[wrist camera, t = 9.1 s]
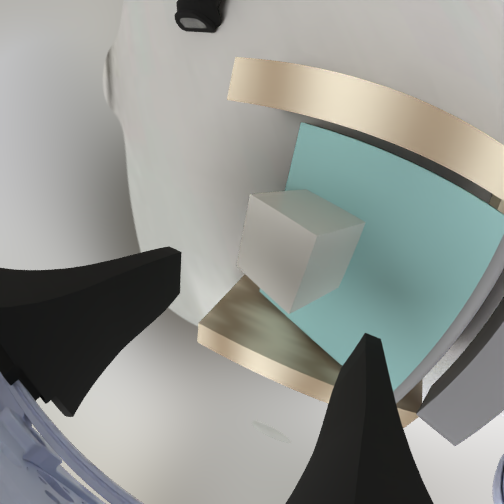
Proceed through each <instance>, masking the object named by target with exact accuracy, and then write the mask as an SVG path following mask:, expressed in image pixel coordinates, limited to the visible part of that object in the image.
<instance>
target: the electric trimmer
mask: <svg viewBox="0 0 504 504" xmlns="http://www.w3.org/2000/svg"><path fill="white" fill-rule="evenodd" d="M220 1H221V0H178V1H177V13H176V14H175V20H176V23H177V24H178V26H179V27H180V28H181V29H182V30H185V31H194V32H211V33H213V32H214V30H215V27H216V26H220V23H221V18H220V15H219V12H218V6H219V3H220Z"/></svg>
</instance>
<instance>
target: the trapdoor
mask: <svg viewBox="0 0 504 504" xmlns="http://www.w3.org/2000/svg"><path fill="white" fill-rule="evenodd" d="M304 189H306V190H308V191H310V192H312V193H314V194H316V195H318V196H320V197H321V198H323V199H325V200H327V201H329V202H331V203H333V204H334V205H336V206H338V207H340V208H342V209H343V210H345V211H347V212H349V213H350V214H352V215H354V216H356V217H357V218H359V219H361V220H363V221H364V222H366V223H365V226H364V228H363V231H362V233H361V236H360V238H359V241H358V243H357V246H356V248H355V251H354V253H353V256H352V258H351V260H350V263H349V265H348V267H347V269H346V272H345V274H344V276H343V279H342V281H341V283H340V285H339V287H338V288H337V289H335V290H333V291H331V292H329V293H328V294H326V295H324V296H322V297H320V298H319V299H317V300H315V301H313V302H311V303H309V304H307V305H306V306H304V307H302V308H300V309H298V310H296V311H294V312H292V313H290V314H288V313H287V312H286V311H285V310H284V309H283V308H281V307H280V306H279V305H278V304H277V303H276V302H275V301H274V300H273V299H272V298H270V297H269V296H268V295H267V294H266V293H265V292H264V291H263V290H262V289H261V288H260V292H261V293H262V294H263V295H264V296H265V297H266V298H267V299H268V300H269V301H270V302H272V303H273V304H274V305H275V306H276V307H277V308H278V309H279V310H280V311H281V312H282V313H284V314H285V315H286V316H287V317H288V318H289V319H290V320H291V321H292V322H293V323H295V324H296V325H297V326H298V327H299V328H300V329H301V330H302V331H303V332H305V333H306V334H307V335H308V336H309V337H310V338H311V339H312V340H313V341H315V342H316V343H317V344H318V345H319V346H320V347H321V348H322V349H324V350H325V351H326V352H327V353H328V354H329V355H330V356H332V357H333V358H334V359H335V360H336V361H337V362H338V363H339V364H341V365H342V366H343V364H344V363H345V362H346V360H347V359H348V357H349V356H350V355H351V353H352V352H353V350H354V349H355V347H356V346H357V344H358V343H359V341H360V340H361V338H362V337H363V335H364V334H365V333H367V334H370V335H372V336H375V337H377V338H380V339H381V341H382V345H383V350H384V354H385V358H386V363H387V367H388V372H389V376H390V380H391V385H392V389H393V393H394V397H395V401H396V404H397V403H398V402H399V401H400V400H401V399H402V398H403V397H404V396H405V395H406V394H407V393H408V392H409V391H410V390H412V389H413V388H414V387H415V386H416V385H417V384H418V383H419V382H420V381H421V380H422V379H423V377H424V376H425V375H426V374H427V373H428V372H429V371H430V370H431V369H432V368H433V367H434V366H435V365H436V364H437V362H438V361H439V360H440V359H441V358H442V357H443V356H444V354H445V353H446V352H447V351H448V350H449V348H450V347H451V346H452V345H453V344H454V342H455V341H456V340H457V339H458V337H459V336H460V335H461V333H462V332H463V331H464V329H465V328H466V327H467V325H468V324H469V323H470V321H471V320H472V319H473V317H474V316H475V314H476V313H477V311H478V310H479V308H480V307H481V305H482V304H483V302H484V301H485V299H486V298H487V296H488V295H489V293H490V291H491V290H492V288H493V287H494V285H495V283H496V281H497V280H498V278H499V276H500V274H501V273H502V271H503V269H504V214H503V213H501V212H500V211H498V210H497V209H495V208H494V207H492V206H491V205H489V204H488V203H486V202H485V201H483V200H481V199H480V198H478V197H477V196H475V195H473V194H472V193H470V192H468V191H467V190H465V189H463V188H461V187H460V186H458V185H456V184H454V183H452V182H451V181H449V180H447V179H445V178H443V177H441V176H439V175H437V174H436V173H434V172H432V171H430V170H428V169H426V168H423V167H421V166H419V165H417V164H415V163H413V162H411V161H409V160H406V159H404V158H402V157H400V156H397V155H395V154H393V153H390V152H388V151H385V150H383V149H381V148H378V147H376V146H373V145H370V144H368V143H365V142H363V141H360V140H357V139H354V138H352V137H349V136H346V135H343V134H340V133H337V132H334V131H331V130H328V129H324V128H321V127H318V126H315V125H311V124H307V123H302V122H301V124H300V129H299V133H298V137H297V142H296V146H295V150H294V154H293V159H292V163H291V167H290V171H289V175H288V180H287V184H286V188H285V191H290V190H304ZM503 410H504V297H503V299H502V301H501V302H500V304H499V305H498V307H497V308H496V310H495V311H494V313H493V314H492V316H491V317H490V318H489V320H488V321H487V323H486V324H485V325H484V327H483V328H482V329H481V331H480V332H479V333H478V335H477V336H476V337H475V338H474V340H473V341H472V342H471V343H470V345H469V346H468V347H467V348H466V349H465V351H464V352H463V353H462V354H461V355H460V356H459V358H458V359H457V360H456V361H455V362H454V363H453V364H452V365H451V366H450V368H449V369H448V370H447V371H446V372H445V373H444V374H443V375H442V376H441V377H440V378H439V379H438V380H437V381H436V382H435V383H434V384H433V385H432V386H431V388H430V390H429V392H428V394H427V396H426V397H425V399H424V401H423V403H422V405H421V406H420V408H419V410H418V411H417V413H416V415H417V416H419V417H420V418H421V419H422V420H423V421H425V422H426V423H427V424H428V425H430V426H431V427H432V428H433V429H434V430H436V431H437V432H438V433H439V434H441V435H442V436H443V437H444V438H446V439H447V440H448V441H449V442H451V443H452V444H453V445H454V446H456V445H458V444H459V443H461V442H462V441H464V440H465V439H467V438H468V437H469V436H471V435H472V434H474V433H475V432H476V431H478V430H479V429H481V428H482V427H483V426H485V425H486V424H487V423H489V422H490V421H491V420H492V419H493V418H495V417H496V416H497V415H498V414H500V413H501V412H502V411H503Z"/></svg>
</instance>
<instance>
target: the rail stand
mask: <svg viewBox="0 0 504 504" xmlns="http://www.w3.org/2000/svg"><path fill="white" fill-rule="evenodd" d="M227 100H231V101H238V102H244V103H250V104H256V105H261V106H266V107H272V108H276V109H281V110H286V111H290V112H294V113H299V114H303V115H307V116H311V117H314V118H318V119H322V120H325V121H329V122H332V123H336V124H339V125H342V126H345V127H348V128H352V129H355V130H358V131H361V132H364V133H366V134H369V135H372V136H375V137H377V138H380V139H383V140H385V141H388V142H391V143H393V144H396V145H398V146H401V147H403V148H405V149H408V150H410V151H412V152H415V153H417V154H419V155H421V156H424V157H426V158H428V159H430V160H432V161H434V162H436V163H438V164H440V165H442V166H444V167H446V168H448V169H450V170H452V171H454V172H456V173H458V174H460V175H462V176H463V177H465V178H467V179H469V180H470V181H472V182H474V183H476V184H477V185H479V186H481V187H482V188H484V189H486V190H487V191H489V192H491V193H492V197H491V200H490V203H489V205H491V206H492V207H494V208H495V209H497V210H498V211H500V212H501V213H503V214H504V145H502V144H501V143H499V142H498V141H496V140H495V139H493V138H492V137H490V136H489V135H487V134H485V133H484V132H482V131H480V130H479V129H477V128H475V127H474V126H472V125H470V124H468V123H466V122H465V121H463V120H461V119H459V118H457V117H455V116H453V115H451V114H449V113H447V112H445V111H443V110H441V109H439V108H437V107H435V106H433V105H431V104H428V103H426V102H424V101H421V100H419V99H417V98H414V97H412V96H409V95H407V94H404V93H402V92H399V91H396V90H394V89H391V88H388V87H385V86H382V85H379V84H376V83H373V82H370V81H367V80H363V79H360V78H356V77H353V76H349V75H345V74H341V73H337V72H333V71H329V70H325V69H320V68H315V67H310V66H305V65H299V64H293V63H287V62H280V61H272V60H263V59H253V58H240V57H235V62H234V66H233V71H232V76H231V81H230V87H229V92H228V97H227ZM197 342H198V343H200V344H202V345H204V346H206V347H207V348H209V349H211V350H213V351H214V352H216V353H219V354H220V355H222V356H224V357H226V358H228V359H230V360H232V361H234V362H236V363H237V364H239V365H242V366H244V367H245V368H248V369H250V370H252V371H254V372H256V373H258V374H260V375H262V376H264V377H266V378H269V379H271V380H273V381H275V382H277V383H280V384H282V385H284V386H287V387H289V388H291V389H293V390H296V391H299V392H301V393H303V394H306V395H308V396H311V397H313V398H315V399H318V400H320V401H323V402H326V403H328V404H329V400H330V397H331V393H332V390H333V388H334V385H335V382H336V380H337V377H338V374H339V372H340V369H341V367H342V365H341V364H339V363H338V362H337V361H336V360H335V359H334V358H333V357H332V356H330V355H329V354H328V353H327V352H326V351H325V350H324V349H322V348H321V347H320V346H319V345H318V344H317V343H316V342H315V341H313V340H312V339H311V338H310V337H309V336H308V335H307V334H306V333H305V332H303V331H302V330H301V329H300V328H299V327H298V326H297V325H296V324H295V323H293V322H292V321H291V320H290V319H289V318H288V317H287V316H286V315H285V314H284V313H282V312H281V311H280V310H279V309H278V308H277V307H276V306H275V305H274V304H273V303H272V302H270V301H269V300H268V299H267V298H266V297H265V296H264V295H263V294H262V293H261V292H260V287H258V286H257V285H256V284H255V283H254V282H253V281H252V280H251V279H250V278H249V277H248V276H247V275H246V274H245V275H244V276H243V277H242V278H241V279H240V280H239V281H238V282H237V283H236V284H235V285H234V287H233V288H232V289H231V290H230V291H229V292H228V293H227V294H226V295H225V296H224V297H223V298H222V299H221V300H220V301H219V302H218V303H217V304H216V305H215V307H214V308H213V309H212V310H211V311H210V312H209V313H208V314H207V315H206V316H205V317H204V318H203V319H202V320H201V321H200V322H199V326H198V341H197ZM396 405H397V409H398V412H399V416H400V420H401V423H402V427H403V428H404V427H406V426H407V425H409V424H410V423H411V422H412V421H414V420H415V419H416V418H418V417H419V416H417V415H416V413H417V411H418V410H419V408H420V406H421V405H422V380H421V381H420V382H419V383H418V384H417V385H416V386H415V387H414V388H413V389H412V390H410V391H409V392H408V393H407V394H406V395H405V396H404V397H403V398H402V399H401V400H400V401H399V402H398V403H397V404H396Z"/></svg>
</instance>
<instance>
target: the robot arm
mask: <svg viewBox="0 0 504 504" xmlns="http://www.w3.org/2000/svg"><path fill="white" fill-rule="evenodd" d="M180 272H181V252H180V251H178V250H176V249H173V248H171V247H164V248H159V249H154V250H150V251H146V252H142V253H138V254H134V255H130V256H127V257H122V258H119V259H114V260H110V261H105V262H101V263H97V264H92V265H86V266H81V267H74V268H66V269H54V270H13V269H5V268H0V504H106V503H104V502H103V501H102V500H100V499H99V498H98V497H96V496H95V495H94V494H93V493H91V492H90V491H89V490H88V489H86V488H85V487H84V486H83V485H81V484H80V483H79V482H78V481H77V480H76V479H75V478H74V477H72V476H71V475H70V474H69V473H68V472H67V471H66V470H65V469H64V468H63V467H62V466H61V465H60V464H61V463H62V460H61V458H62V459H63V460H64V461H65V463H66V464H67V465H68V466H69V467H70V468H71V469H72V470H73V471H74V472H75V473H76V474H77V475H78V476H80V477H81V478H82V479H83V480H84V481H85V482H86V483H87V484H88V485H89V486H90V487H92V488H93V489H94V490H95V491H96V492H97V493H98V494H100V495H101V496H102V497H103V498H105V499H106V500H107V501H108V502H109V503H111V504H144V503H142V502H140V501H139V500H138V499H136V498H135V497H134V496H132V495H131V494H129V493H128V492H127V491H125V490H124V489H123V488H121V487H120V486H119V485H117V484H116V483H115V482H114V481H112V480H111V479H110V478H109V477H108V476H106V475H105V474H104V473H103V472H102V471H100V470H99V469H98V468H97V467H96V466H95V465H94V464H93V463H91V462H90V461H89V460H88V459H87V458H86V457H85V456H84V455H83V454H82V453H81V452H80V451H79V450H78V449H77V448H76V447H75V446H74V445H73V444H72V443H71V442H70V441H69V440H68V439H67V438H66V437H65V436H64V435H63V434H62V433H61V431H60V430H59V429H58V428H57V427H56V426H55V425H54V423H53V422H52V421H51V420H50V419H49V417H48V416H47V415H46V414H45V413H44V412H43V410H42V409H41V408H40V406H39V405H38V404H37V402H36V400H37V399H38V398H39V397H41V398H42V400H43V401H44V402H45V403H48V402H49V401H50V400H52V402H53V403H54V404H55V405H56V406H57V408H58V409H59V410H60V411H61V412H62V413H63V414H64V415H65V416H68V417H73V416H74V414H75V412H76V410H77V409H78V407H79V405H80V404H81V402H82V400H83V399H84V397H85V396H86V394H87V393H88V391H89V390H90V388H91V387H92V385H93V384H94V383H95V382H96V380H97V379H98V377H99V376H100V375H101V374H102V372H103V371H104V370H105V369H106V367H107V366H108V365H109V364H110V363H111V362H112V360H113V359H114V358H115V357H116V356H117V355H118V353H119V352H120V351H121V350H122V349H123V348H124V347H125V346H126V345H127V344H128V343H129V342H130V341H132V340H133V339H134V338H135V337H136V336H137V335H138V334H139V333H141V332H142V331H143V330H144V329H145V328H146V327H147V326H149V325H150V324H151V323H152V322H153V321H154V320H155V319H156V318H157V317H159V316H160V315H161V314H162V313H163V312H164V311H165V310H166V309H167V308H168V307H169V305H170V304H171V303H172V302H173V301H174V300H175V298H176V297H177V296H178V295H179V293H180ZM32 424H33V425H34V427H35V428H36V429H37V430H38V432H39V433H40V434H41V435H42V436H41V435H40V434H39V433H38V432H37V431H35V430H34V429H33V428H32ZM59 456H60V457H61V458H60V457H59ZM493 501H494V504H504V454H503V455H502V457H501V459H500V461H499V463H498V466H497V470H496V473H495V476H494V481H493ZM286 504H433V502H432V500H431V498H430V496H429V494H428V492H427V489H426V487H425V485H424V483H423V481H422V478H421V476H420V474H419V471H418V469H417V466H416V464H415V461H414V459H413V456H412V454H411V451H410V448H409V445H408V442H407V439H406V436H405V433H404V430H403V427H402V423H401V420H400V416H399V412H398V409H397V405H396V401H395V397H394V393H393V389H392V385H391V380H390V376H389V372H388V367H387V363H386V358H385V354H384V350H383V345H382V341H381V339H380V338H377V337H375V336H372V335H370V334H367V333H365V334H364V335H363V337H362V338H361V340H360V341H359V343H358V344H357V346H356V347H355V349H354V350H353V352H352V353H351V355H350V356H349V357H348V359H347V360H346V362H345V363H344V364H343V366H342V367H341V369H340V372H339V374H338V377H337V380H336V382H335V385H334V388H333V390H332V393H331V397H330V400H329V404H328V408H327V411H326V415H325V418H324V421H323V425H322V428H321V431H320V434H319V438H318V441H317V444H316V446H315V449H314V452H313V454H312V456H311V458H310V461H309V463H308V465H307V467H306V469H305V471H304V473H303V475H302V476H301V478H300V480H299V482H298V484H297V485H296V487H295V489H294V491H293V493H292V494H291V496H290V498H289V499H288V501H287V502H286Z"/></svg>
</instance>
